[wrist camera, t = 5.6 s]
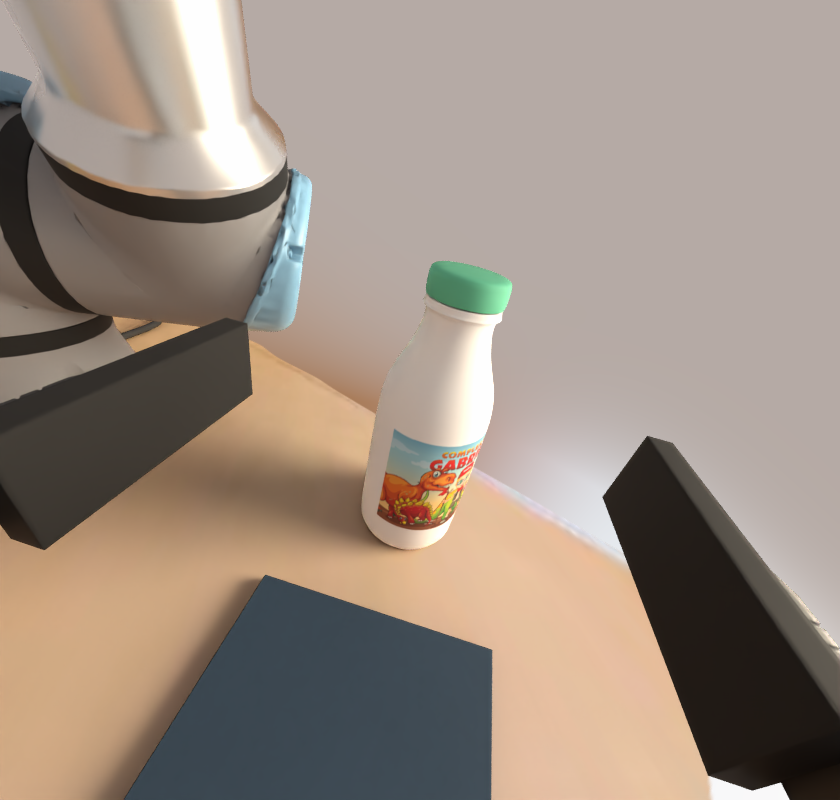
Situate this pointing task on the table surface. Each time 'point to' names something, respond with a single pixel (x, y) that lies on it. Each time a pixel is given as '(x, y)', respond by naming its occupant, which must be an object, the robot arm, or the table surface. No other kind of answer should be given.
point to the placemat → (329, 710)
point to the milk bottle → (434, 409)
